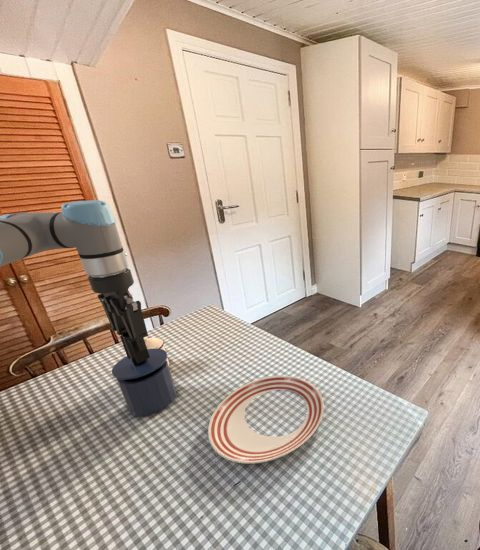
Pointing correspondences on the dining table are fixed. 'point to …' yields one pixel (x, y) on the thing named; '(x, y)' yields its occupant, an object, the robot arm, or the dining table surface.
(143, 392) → the dark grey canister
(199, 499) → the dining table surface
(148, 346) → the teacup with lid
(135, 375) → the pot lid
